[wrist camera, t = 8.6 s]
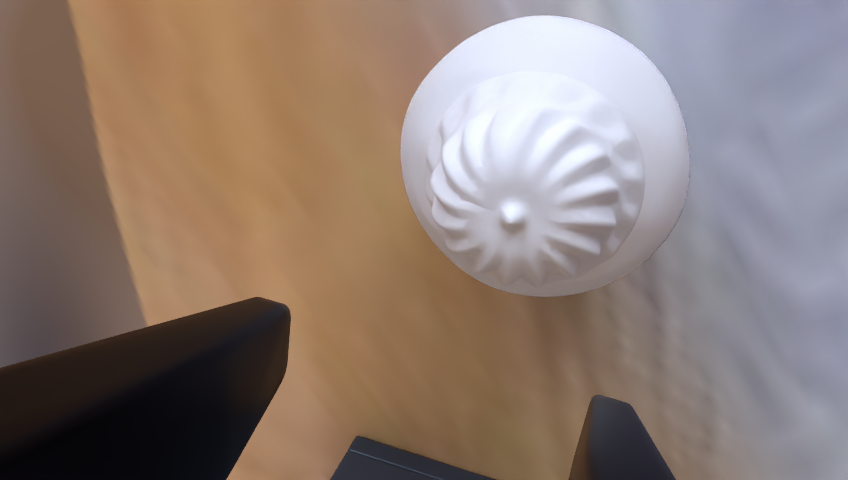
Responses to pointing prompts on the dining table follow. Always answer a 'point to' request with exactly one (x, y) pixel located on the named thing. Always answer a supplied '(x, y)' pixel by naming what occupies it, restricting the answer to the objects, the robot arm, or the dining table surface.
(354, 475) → the cabinet
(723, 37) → the dining table surface
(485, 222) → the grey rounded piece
